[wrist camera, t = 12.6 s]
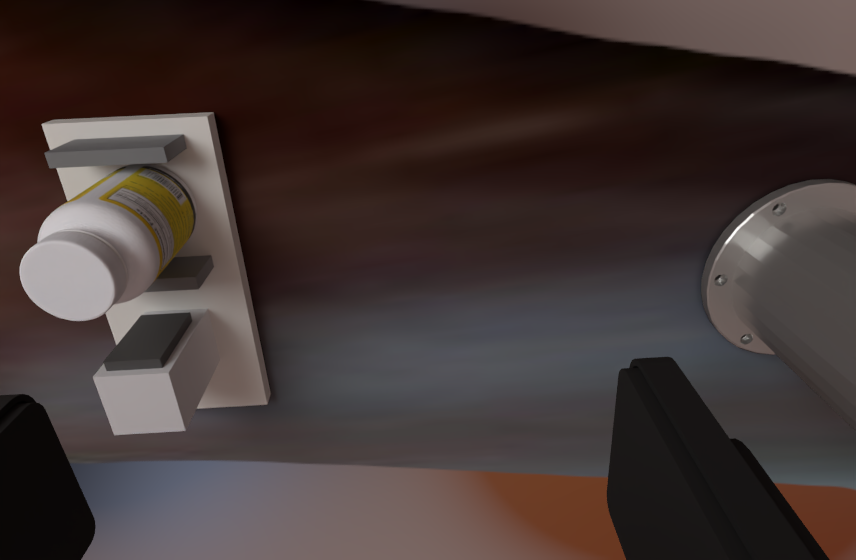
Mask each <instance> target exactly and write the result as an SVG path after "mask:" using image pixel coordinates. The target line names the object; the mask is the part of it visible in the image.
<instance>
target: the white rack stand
mask: <svg viewBox="0 0 856 560" xmlns="http://www.w3.org/2000/svg"><path fill="white" fill-rule="evenodd" d="M42 127H43V130H44V133H45V136H46V139H47V142H48V145H49V148H50V151H47V152H45V156H46V159H47V162H48V165H49V168H57V171H58V174H59V177H60V180H61V183H62V186H63V189H64V192H65V195H66V198H67V201H69V200H71V199H72V198H74V197H75V196H77V195H78V194H80V193H82V192H83V191H85V190H86V189H88V188H89V187H91V186H92V185H94V184H95V183H97V182H98V181H100V180H101V179H103V178H104V177H106V176H107V175H109V174H111V173H112V172H114V171H116V170H117V169H119V168H121V167H124V166H127V165H131V164H151V165H156V166H159V167H162V168H164V169H166V170H168V171H170V172H171V173H173V174H174V175H176V176H177V177H178V178H179V179H181V180H182V181H183V182H184V183H185V185H186V186H187V187H188V188H189V190H190V192H191V193H192V195H193V197H194V200H195V203H196V207H197V223H196V227H195V229H194V231H193V233H192V235H191V236H190V238H189V239H188V240H187V242H186V243H185V244H184V246H183V247H182V248H181V249H180V250H179V252H178V253H177V254H176V255H175V257H174V258H173V259H172V260H171V261H170V263H169V264H168V265H167V266H166V267H165V269H164V270H163V271H162V272H161V274H160V275H159V276H158V277H157V279H156V280H155V281H154V282H153V283H152V284H151V286H150V287H149V288H148V289H147V290H146V291H145V292H143V293H142V294H141V295H140V296H138V297H136V298H134V299H132V300H130V301H127V302H124V303H120V304H114V305H113V306H112V307H111V308H110V309H109V310H108V311H107V312H106V316H107V319H108V322H109V325H110V327H111V330H112V333H113V336H114V339H115V342H116V345H117V346H116V347H115V348H114V349H113V351H112V352H111V353H110V354H109V356H108V357H107V358H106V359H105V361H104V362H103V363H104V364H103V365H102V366H101V368H100V369H99V370H98V371H97V373H96V374H95V375H94V376H93V379H94V382H95V385H96V387H97V390H98V393H99V395H100V398H101V401H102V403H103V406H104V409H105V411H106V414H107V417H108V419H109V422H110V425H111V428H112V430H113V433H114V435H123V434H140V433H157V432H174V431H186V429H187V427H188V425H189V423H190V421H191V419H192V417H193V415H194V413H195V411H196V409H200V408H217V407H234V406H251V405H267V404H268V401H269V398H270V395H271V392H270V387H269V383H268V378H267V373H266V368H265V363H264V358H263V353H262V348H261V343H260V338H259V333H258V328H257V324H256V319H255V314H254V309H253V304H252V299H251V294H250V289H249V284H248V279H247V274H246V269H245V264H244V260H243V255H242V250H241V245H240V240H239V235H238V230H237V225H236V220H235V215H234V210H233V205H232V201H231V196H230V191H229V186H228V181H227V176H226V171H225V166H224V161H223V156H222V151H221V146H220V141H219V137H218V132H217V127H216V122H215V117H214V112H209V113H188V114H167V115H146V116H124V117H103V118H82V119H61V120H52V121H49V122H46V123H43V124H42Z"/></svg>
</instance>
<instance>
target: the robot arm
mask: <svg viewBox="0 0 856 560" xmlns="http://www.w3.org/2000/svg"><path fill="white" fill-rule="evenodd" d="M701 297H702V302H703V307H704V310H705V312H706V314H707V316H708V319H709V321H710V322H711V323H712V324H713V326H714V327H715V328H716V329H717V330H718V332H719V333H720V334H722V335H723V336H724V337H725V338H726V339H727V340H728V341H729V342H731V343H732V344H734V345H736V346H737V347H739V348H741V349H745V350H748V351H751V352H754V353H761V354H770V355H773V354H776V355H777V356H778V357H779V358H780V359H781V360H782V361H783V362H784V363H785V364H786V365H788V366H789V367H790V368H791V369H792V370H793V371H794V372H795V373H796V374H797V375H798V376H799V377H800V378H801V379H802V380H803V381H804V382H805V383H806V384H807V385H808V386H809V387H810V388H811V389H813V390H814V391H815V392H816V393H817V394H818V395H819V396H820V397H821V398H822V399H823V400H824V401H825V402H826V403H827V404H828V405H829V406H830V407H831V408H832V409H833V410H834V411H835V412H836V413H838V414H839V415H840V416H841V417H842V418H843V419H844V420H845V421H846V422H847V423H848V424H849V425H850V426H851V427H852V428H853V429H854V430H855V431H856V185H855V184H852V183H850V182H847V181H840V180H833V179H819V180H808V181H804V182H799V183H795V184H791V185H788V186H786V187H784V188H781V189H779V190H776V191H774V192H771V193H770V194H768V195H766V196H765V197H763V198H761V199H760V200H758V201H756V202H754V203H753V204H752V205H751V206H749V207H748V208H747V209H746V210H744V211H743V212H742V213H741V214H739V215H738V216H737V217H736V218H735V219H734V220H733V221H732V223H731V224H730V225H729V226H728V227H727V228H726V229H725V230H724V231H723V233H722V234H721V236H720V237H719V239H718V240H717V242H716V243H715V245H714V246H713V248H712V250H711V252H710V255H709V257H708V259H707V261H706V264H705V268H704V272H703V276H702V283H701ZM607 486H608V487H607V503H608V508H609V512H610V516H611V519H612V522H613V524H614V527H615V530H616V533H617V535H618V538H619V541H620V543H621V546H622V549H623V552H624V554H625V557H626V560H829V558H828V557H827V556H826V554H825V553H824V551H823V550H822V549H821V547H820V546H819V545H818V543H817V542H816V541H815V539H814V538H813V536H812V535H811V534H810V532H809V531H808V529H807V528H806V527H805V525H804V524H803V523H802V521H801V520H800V519H799V517H798V516H797V514H796V513H795V512H794V510H793V509H792V508H791V506H790V505H789V503H788V502H787V501H786V500H785V498H784V497H783V495H782V494H781V493H780V491H779V490H778V488H777V487H776V486H775V484H774V483H773V482H772V480H771V479H770V477H769V476H768V475H767V473H766V472H765V471H764V469H763V468H762V466H761V465H760V464H759V462H758V461H757V460H756V458H755V457H754V456H753V454H752V453H751V451H750V450H749V449H748V448H747V447H746V446H745V445H744V444H743V443H742V442H741V441H739V440H737V439H729V437H728V436H727V435H726V433H725V432H724V430H723V429H722V427H721V426H720V425H719V423H718V422H717V420H716V419H715V417H714V416H713V415H712V413H711V412H710V410H709V409H708V407H707V406H706V405H705V403H704V402H703V400H702V399H701V398H700V396H699V395H698V393H697V392H696V390H695V389H694V388H693V386H692V385H691V383H690V382H689V380H688V379H687V378H686V376H685V375H684V373H683V372H682V371H681V369H680V368H679V366H678V365H677V363H676V362H675V361H674V360H673V359H672V358H670V357H658V358H641V359H634V360H632V362H631V364H630V368H626V369H621V370H620V372H619V376H618V386H617V396H616V406H615V416H614V426H613V435H612V445H611V455H610V465H609V475H608V485H607ZM94 534H95V520H94V517H93V515H92V512H91V510H90V508H89V506H88V504H87V501H86V499H85V497H84V495H83V492H82V490H81V488H80V486H79V484H78V482H77V479H76V477H75V475H74V473H73V470H72V468H71V466H70V464H69V461H68V459H67V457H66V455H65V452H64V450H63V448H62V446H61V443H60V441H59V439H58V437H57V435H56V432H55V430H54V428H53V426H52V423H51V421H50V419H49V417H48V415H47V412H46V410H45V409H44V407H43V406H42V405H41V404H39V403H36V402H35V400H34V399H33V398H32V397H30V396H29V395H24V394H18V395H1V396H0V560H81V559H82V557H83V555H84V554H85V552H86V551H87V549H88V547H89V546H90V544H91V542H92V540H93V537H94Z"/></svg>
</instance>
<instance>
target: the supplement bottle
mask: <svg viewBox="0 0 856 560" xmlns="http://www.w3.org/2000/svg"><path fill="white" fill-rule="evenodd" d="M196 223H197V207H196V203H195V200H194V197H193V195H192V193H191V192H190V190H189V188H188V187H187V186H186V185H185V183H184V182H183V181H182V180H181V179H179V178H178V177H177V176H176V175H174V174H173V173H171V172H170V171H168V170H166V169H164V168H162V167H159V166H156V165H151V164H131V165H127V166H124V167H121V168H119V169H117V170H116V171H114V172H112V173H111V174H109V175H107V176H106V177H104V178H103V179H101V180H100V181H98V182H97V183H95V184H94V185H92V186H91V187H89V188H88V189H86V190H85V191H83V192H82V193H80V194H78V195H77V196H75V197H74V198H72V199H71V200H69V201H68V202H66V203H65V204H63V205H62V206H60V207H58V208H57V209H56V210H55V211H54V212H52V213H51V214H50V215H49V216H48V217H47V218H46V220H45V221H44V223H43V224H42V226H41V229H40V231H39V235H38V243H37V244H36V245H34V246H33V247H32V248H30V249H29V250H28V251H27V252H26V254H25V255H24V257H23V259H22V261H21V264H20V279H21V283H22V285H23V288H24V290H25V291H26V293H27V294H28V296H29V297H30V298H31V299H32V301H33V302H34V303H35V304H37V305H38V306H39V307H40V308H42V309H43V310H45V311H46V312H48V313H50V314H52V315H54V316H56V317H59V318H62V319H66V320H71V321H87V320H92V319H95V318H98V317H100V316H101V315H103V314H105V313H106V312H107V311H108V310H109V309H110V308H111V307H112V306H113V305H114V304H120V303H124V302H127V301H130V300H132V299H134V298H136V297H138V296H140V295H141V294H142V293H143V292H145V291H146V290H147V289H148V288H149V287H150V286H151V284H152V283H153V282H154V281H155V280H156V279H157V277H158V276H159V275H160V274H161V272H162V271H163V270H164V269H165V267H166V266H167V265H168V264H169V263H170V261H171V260H172V259H173V258H174V257H175V255H176V254H177V253H178V252H179V250H180V249H181V248H182V247H183V246H184V244H185V243H186V242H187V240H188V239H189V238H190V236H191V235H192V233H193V231H194V229H195V227H196Z"/></svg>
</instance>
